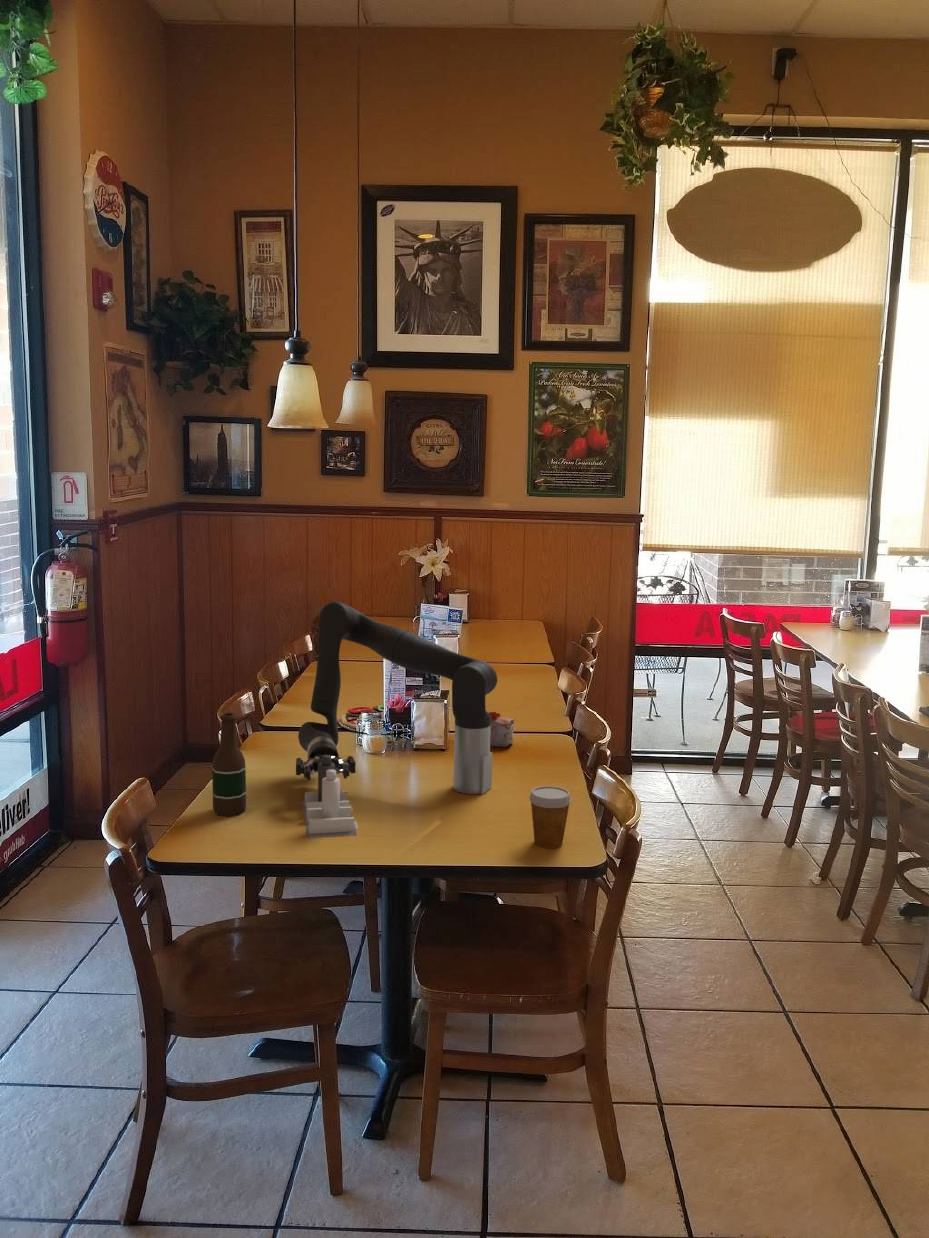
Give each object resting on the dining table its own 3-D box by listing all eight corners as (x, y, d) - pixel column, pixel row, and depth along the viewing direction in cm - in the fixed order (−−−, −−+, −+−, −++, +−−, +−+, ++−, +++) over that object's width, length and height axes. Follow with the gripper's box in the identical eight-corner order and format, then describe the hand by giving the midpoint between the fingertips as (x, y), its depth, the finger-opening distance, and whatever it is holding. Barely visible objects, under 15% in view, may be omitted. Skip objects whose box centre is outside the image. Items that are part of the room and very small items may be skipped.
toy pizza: (325, 717, 331) (325, 704, 330) (403, 709, 344) (404, 696, 343) (356, 740, 307) (357, 726, 306) (439, 730, 319) (440, 717, 319)
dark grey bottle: (338, 807, 244) (338, 755, 242) (329, 812, 241) (329, 760, 239) (323, 804, 246) (323, 752, 244) (314, 810, 242) (314, 757, 240)
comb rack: (302, 806, 249) (302, 788, 248) (350, 804, 251) (350, 786, 250) (307, 844, 226) (307, 824, 225) (359, 841, 228) (360, 822, 227)
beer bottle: (232, 803, 250) (231, 708, 246) (252, 811, 245) (251, 714, 241) (206, 811, 244) (204, 714, 240) (226, 819, 239) (225, 720, 235)
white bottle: (342, 824, 234) (343, 770, 232) (333, 830, 230) (334, 774, 228) (327, 821, 235) (328, 767, 233) (318, 826, 232) (318, 771, 230)
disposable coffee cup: (566, 835, 235) (568, 785, 233) (572, 851, 225) (574, 799, 223) (525, 834, 234) (527, 784, 232) (529, 851, 225) (531, 799, 223)
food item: (517, 743, 307) (518, 711, 305) (509, 750, 299) (510, 718, 298) (474, 738, 311) (475, 706, 309) (465, 745, 304) (466, 712, 302)
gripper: (293, 741, 254) (296, 761, 238) (351, 739, 256) (357, 758, 241) (294, 770, 255) (296, 791, 239) (351, 767, 258) (357, 789, 242)
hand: (327, 775), depth 240 cm, fingers open, 8 cm apart
